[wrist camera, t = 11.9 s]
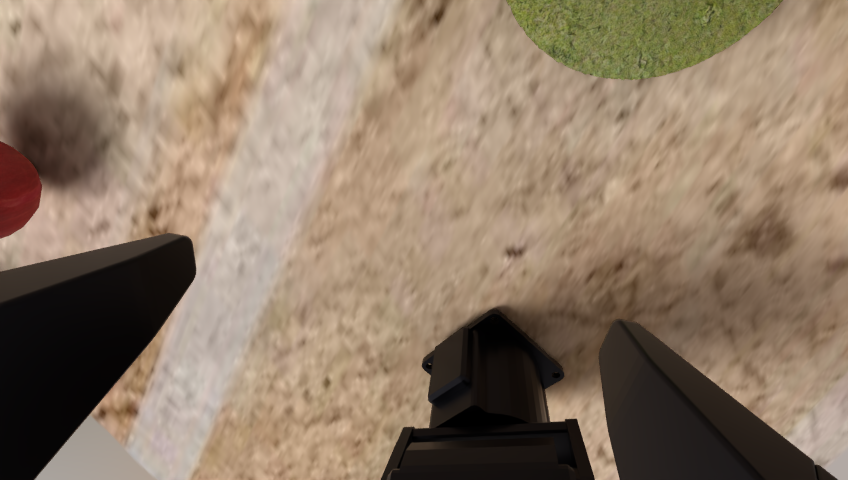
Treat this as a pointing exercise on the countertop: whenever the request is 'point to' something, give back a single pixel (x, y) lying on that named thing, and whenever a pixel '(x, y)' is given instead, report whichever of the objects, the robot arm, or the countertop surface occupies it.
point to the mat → (637, 32)
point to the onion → (17, 190)
